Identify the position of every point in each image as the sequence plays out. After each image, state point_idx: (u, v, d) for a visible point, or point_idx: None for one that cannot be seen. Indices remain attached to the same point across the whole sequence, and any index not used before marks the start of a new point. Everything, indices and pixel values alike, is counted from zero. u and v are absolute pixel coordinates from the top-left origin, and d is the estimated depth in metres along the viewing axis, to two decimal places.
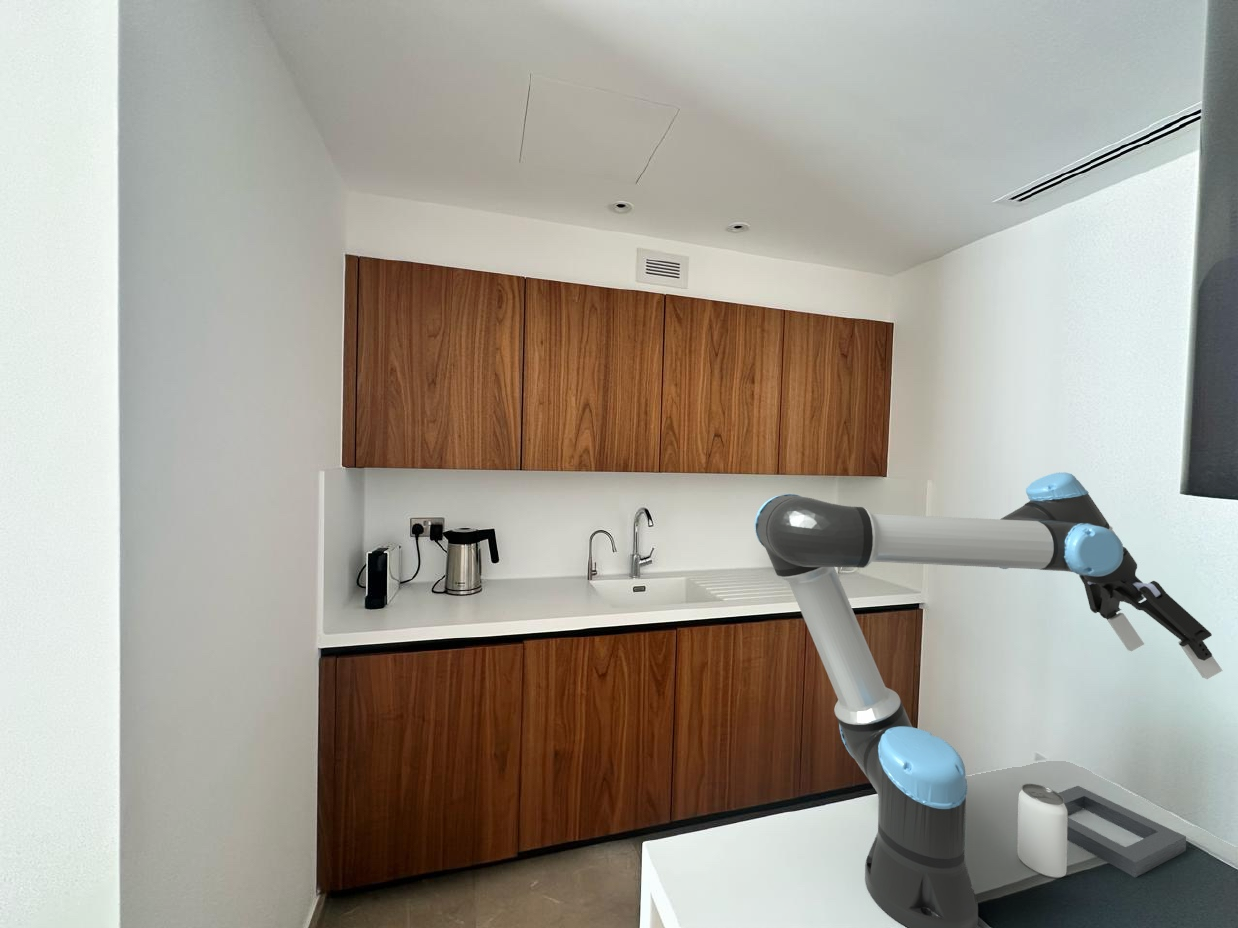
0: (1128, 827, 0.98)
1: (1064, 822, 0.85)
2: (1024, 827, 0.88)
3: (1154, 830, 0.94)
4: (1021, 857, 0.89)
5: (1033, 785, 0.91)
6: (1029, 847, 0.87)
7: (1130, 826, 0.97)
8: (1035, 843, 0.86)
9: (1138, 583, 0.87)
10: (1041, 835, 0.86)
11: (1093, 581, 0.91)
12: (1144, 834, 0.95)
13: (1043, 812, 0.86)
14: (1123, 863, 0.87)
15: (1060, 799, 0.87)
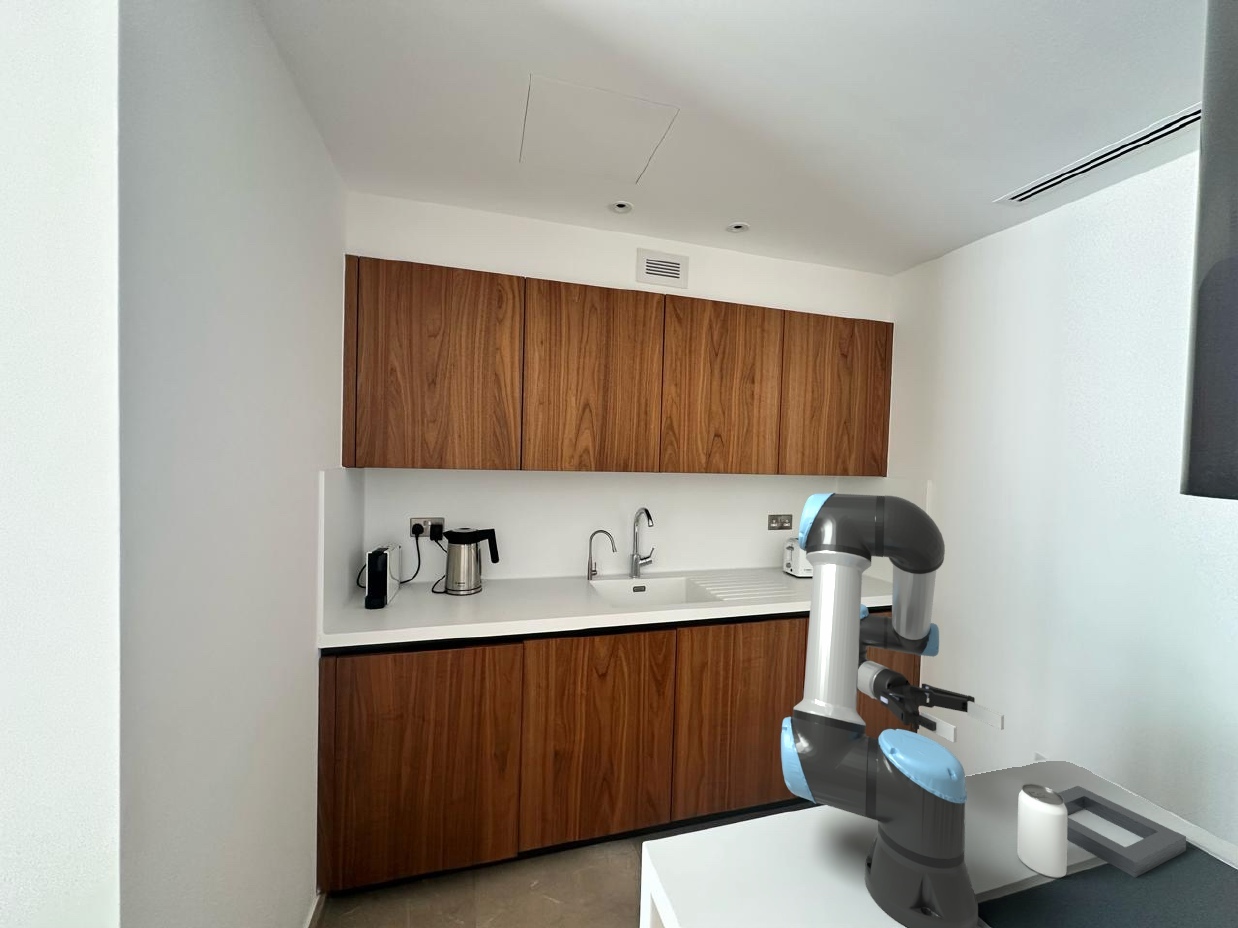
0: (1128, 827, 0.98)
1: (1064, 822, 0.85)
2: (1024, 827, 0.88)
3: (1154, 830, 0.94)
4: (1021, 857, 0.89)
5: (1032, 785, 0.91)
6: (1029, 847, 0.87)
7: (1130, 826, 0.97)
8: (1035, 843, 0.86)
9: None
10: (1041, 835, 0.86)
11: (898, 672, 1.15)
12: (1144, 834, 0.95)
13: (1043, 811, 0.86)
14: (1123, 863, 0.87)
15: (1060, 799, 0.87)
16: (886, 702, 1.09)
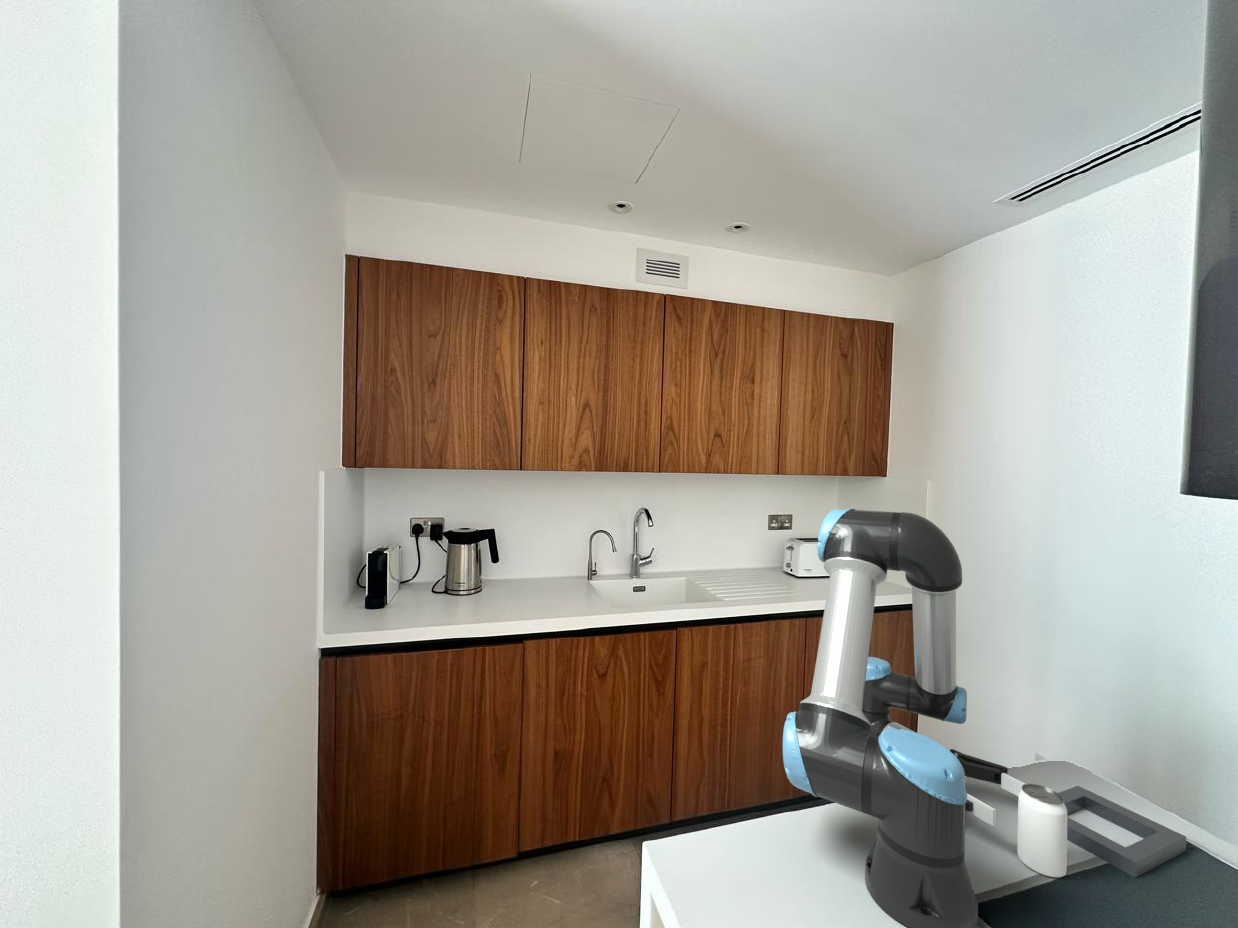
0: (1128, 827, 0.98)
1: (1064, 822, 0.85)
2: (1024, 827, 0.88)
3: (1154, 830, 0.94)
4: (1021, 857, 0.89)
5: (1032, 785, 0.91)
6: (1029, 847, 0.87)
7: (1130, 826, 0.97)
8: (1035, 843, 0.86)
9: None
10: (1041, 835, 0.86)
11: None
12: (1144, 834, 0.95)
13: (1043, 812, 0.86)
14: (1123, 863, 0.87)
15: (1060, 799, 0.87)
16: None
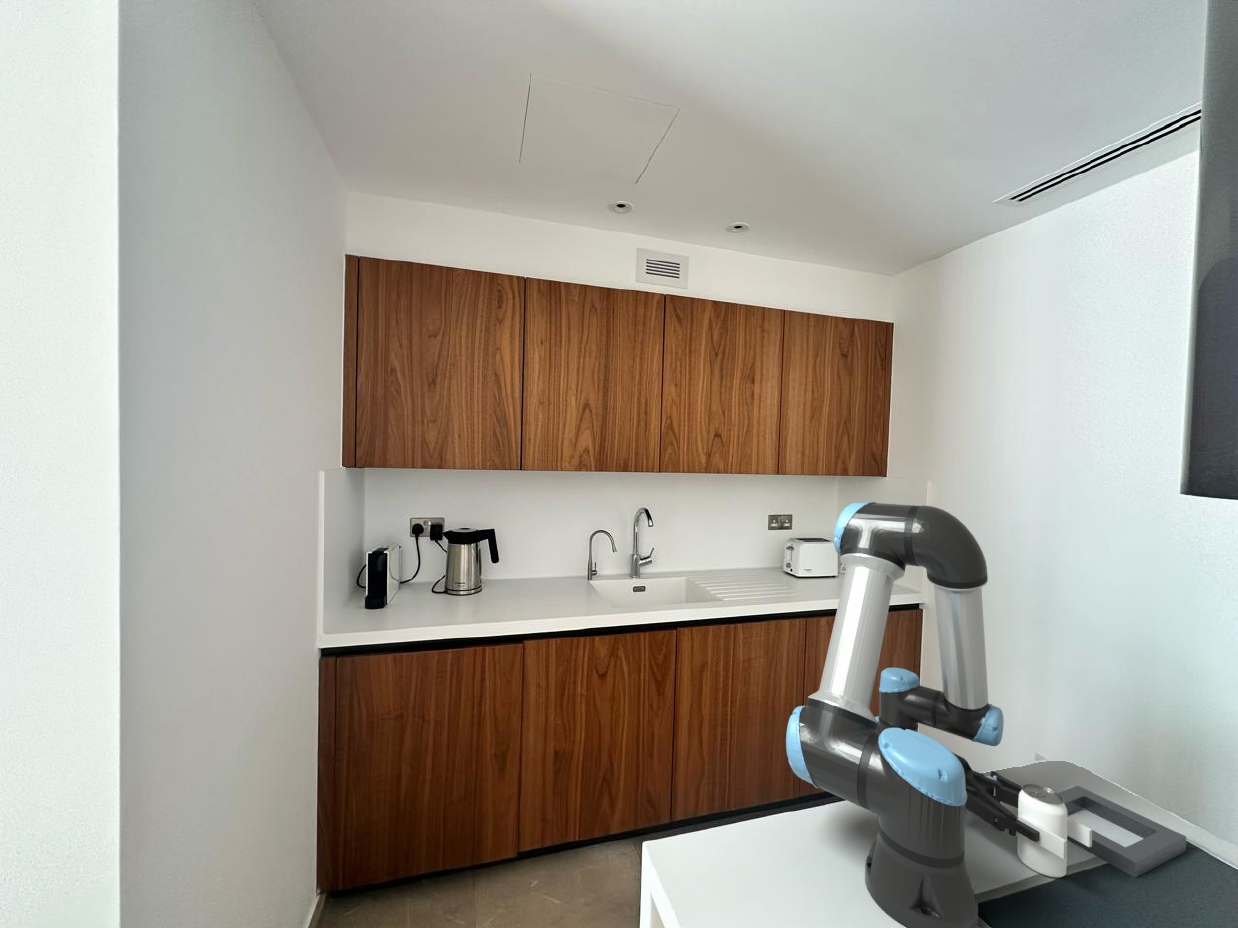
0: (1128, 827, 0.98)
1: (1064, 822, 0.85)
2: None
3: (1154, 830, 0.94)
4: (1021, 857, 0.89)
5: (1033, 785, 0.91)
6: (1029, 847, 0.87)
7: (1130, 826, 0.97)
8: (1035, 843, 0.86)
9: None
10: None
11: (958, 756, 1.02)
12: (1144, 834, 0.95)
13: (1043, 811, 0.86)
14: (1123, 863, 0.87)
15: (1060, 799, 0.87)
16: None
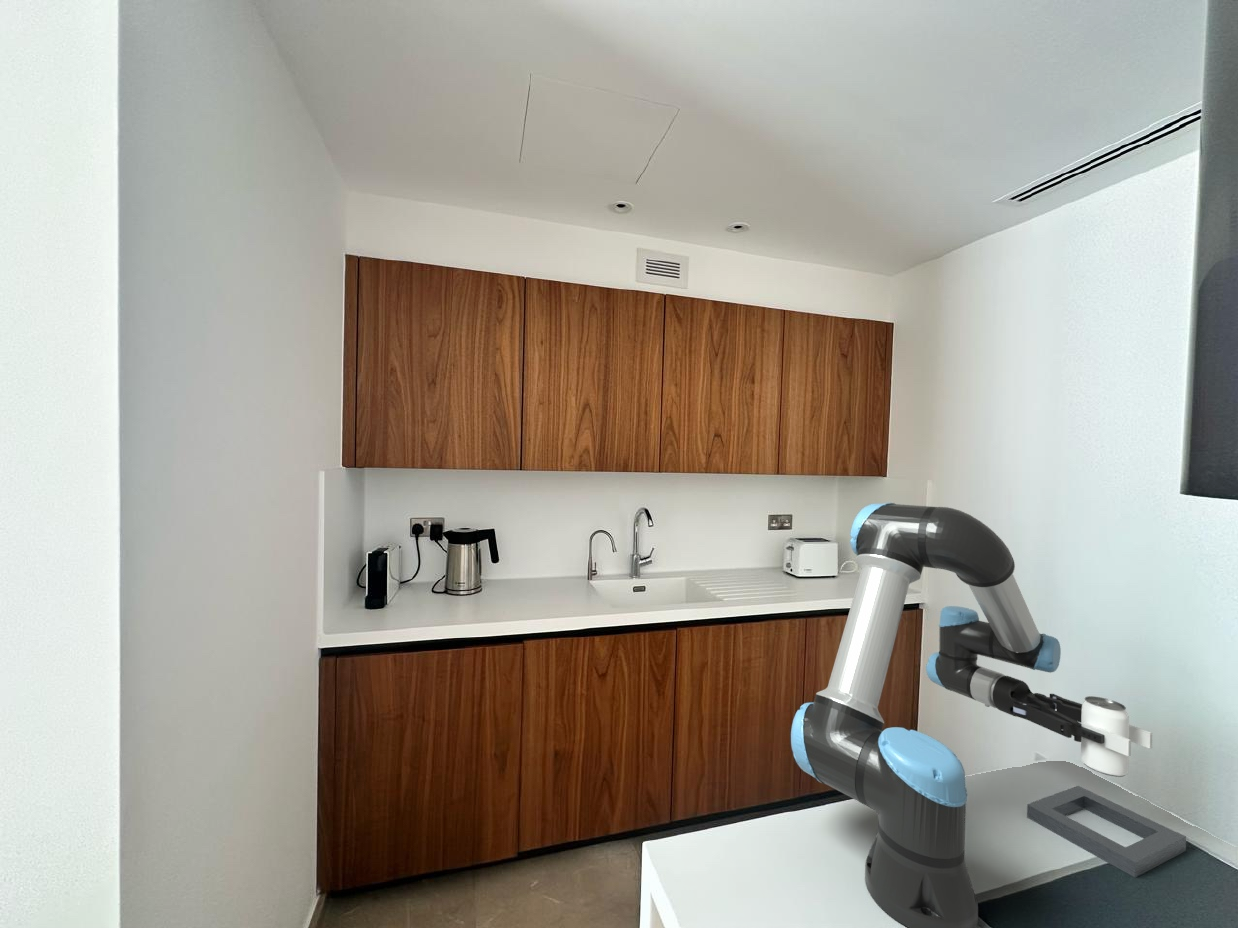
0: (1128, 827, 0.98)
1: (1126, 726, 0.94)
2: None
3: (1154, 830, 0.94)
4: (1085, 761, 0.97)
5: (1094, 698, 1.00)
6: (1093, 750, 0.96)
7: (1130, 826, 0.97)
8: (1099, 746, 0.95)
9: None
10: None
11: (1019, 680, 1.11)
12: (1144, 834, 0.95)
13: (1107, 717, 0.94)
14: (1123, 863, 0.87)
15: (1121, 707, 0.96)
16: (1024, 713, 1.04)
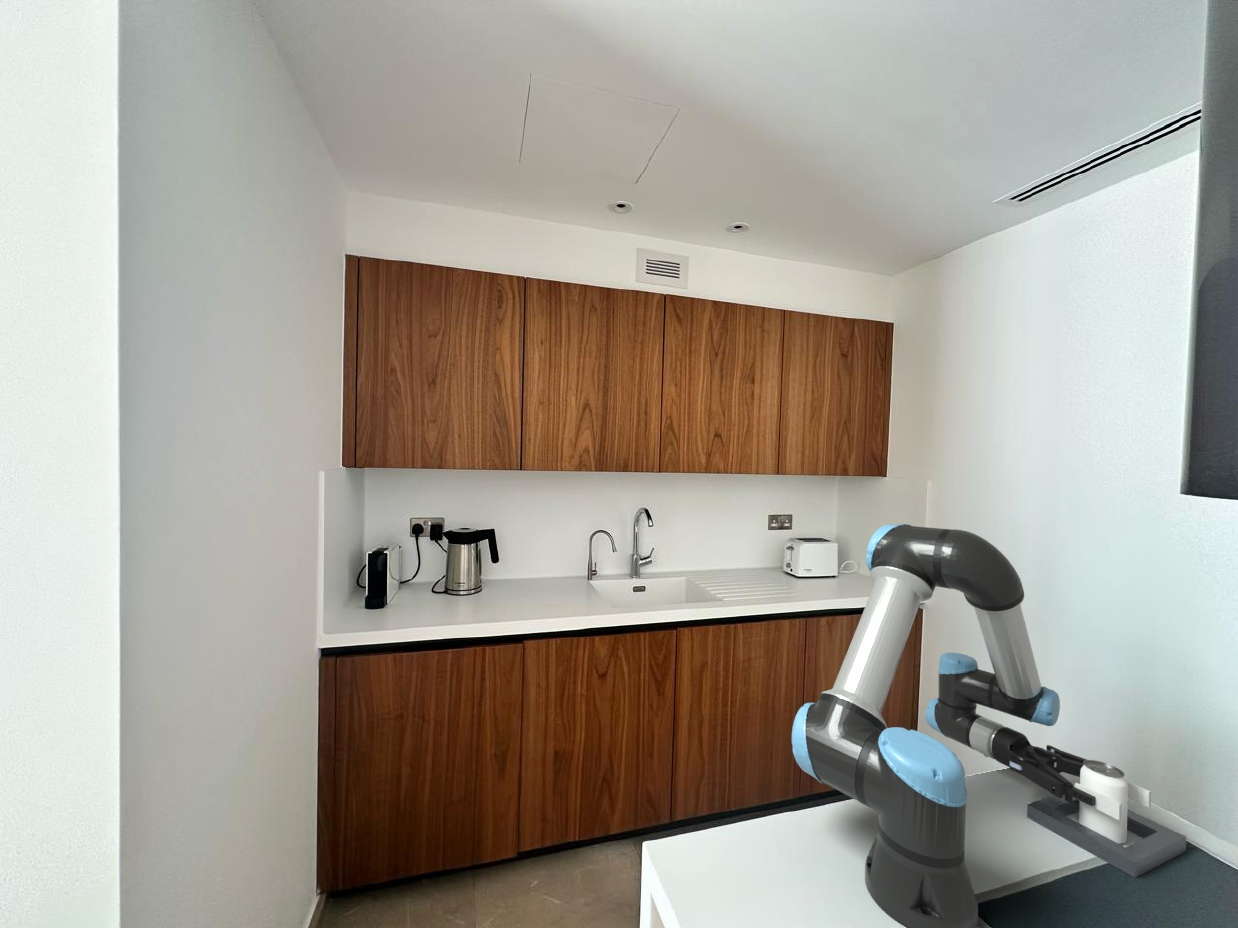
0: (1128, 827, 0.98)
1: (1125, 793, 0.94)
2: None
3: (1154, 830, 0.94)
4: None
5: (1093, 761, 0.99)
6: (1092, 816, 0.96)
7: (1130, 826, 0.97)
8: (1098, 813, 0.95)
9: None
10: None
11: (1018, 732, 1.11)
12: (1144, 834, 0.95)
13: (1105, 784, 0.94)
14: (1123, 863, 0.87)
15: (1120, 773, 0.96)
16: (1019, 769, 1.04)
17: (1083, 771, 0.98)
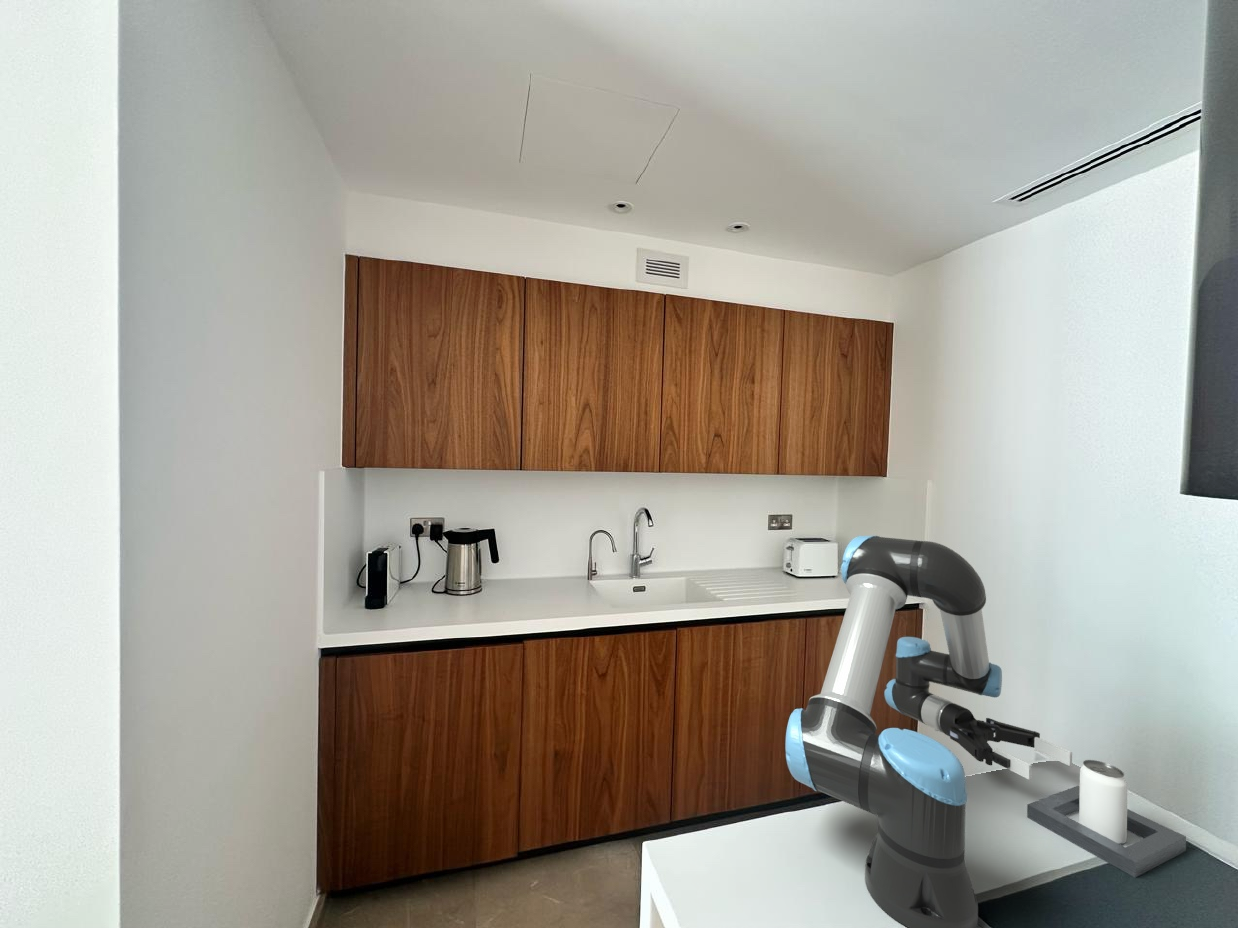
0: (1128, 827, 0.98)
1: (1125, 793, 0.94)
2: (1086, 799, 0.96)
3: (1154, 830, 0.94)
4: None
5: (1092, 761, 0.99)
6: (1092, 816, 0.96)
7: (1130, 826, 0.97)
8: (1098, 813, 0.95)
9: None
10: (1104, 805, 0.94)
11: (964, 708, 1.22)
12: (1144, 834, 0.95)
13: (1105, 784, 0.94)
14: (1123, 863, 0.87)
15: (1120, 773, 0.96)
16: (956, 737, 1.16)
17: (1083, 771, 0.98)
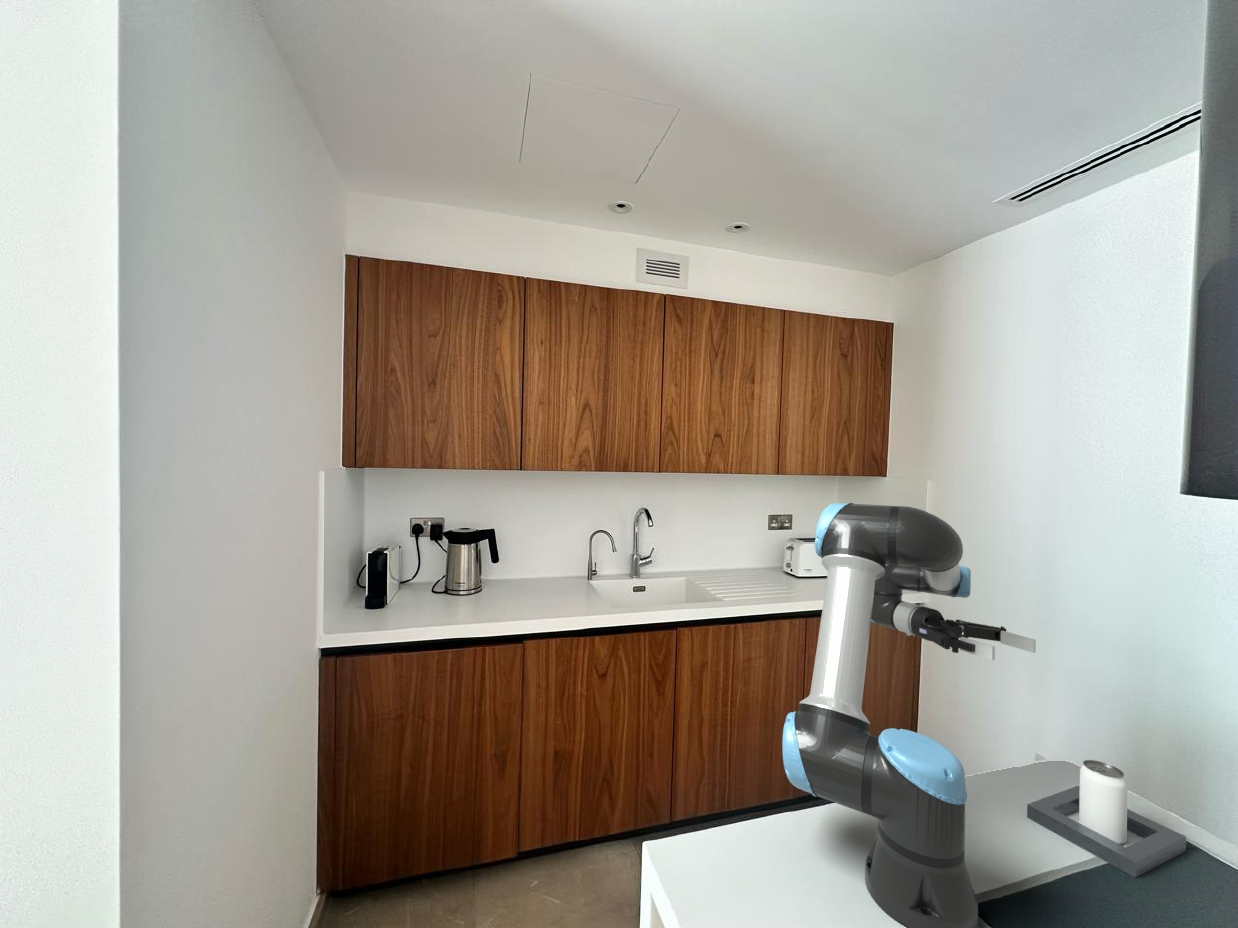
0: (1128, 827, 0.98)
1: (1125, 793, 0.94)
2: (1086, 799, 0.96)
3: (1154, 830, 0.94)
4: None
5: (1092, 761, 0.99)
6: (1092, 817, 0.96)
7: (1130, 826, 0.97)
8: (1098, 813, 0.95)
9: None
10: (1104, 806, 0.94)
11: (934, 609, 1.24)
12: (1144, 834, 0.95)
13: (1105, 784, 0.94)
14: (1123, 863, 0.87)
15: (1120, 773, 0.96)
16: (925, 633, 1.18)
17: (1083, 771, 0.98)
